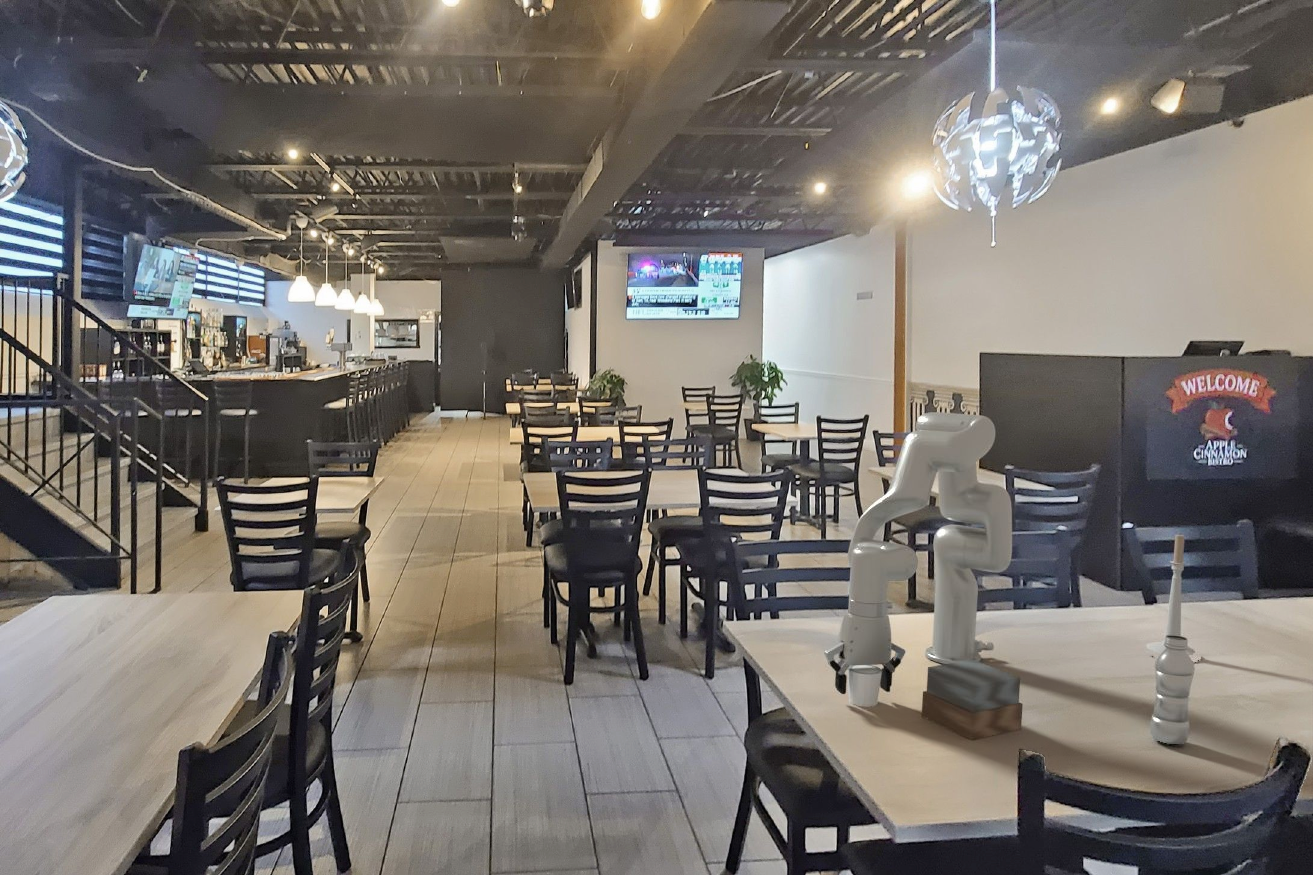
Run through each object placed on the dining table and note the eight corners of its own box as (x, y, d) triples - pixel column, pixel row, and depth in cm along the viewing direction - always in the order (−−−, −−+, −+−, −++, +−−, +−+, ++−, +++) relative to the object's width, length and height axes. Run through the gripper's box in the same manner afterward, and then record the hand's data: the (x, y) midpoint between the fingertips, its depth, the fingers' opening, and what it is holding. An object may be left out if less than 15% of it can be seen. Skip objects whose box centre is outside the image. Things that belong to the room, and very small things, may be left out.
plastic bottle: (1141, 735, 185) (1148, 632, 183) (1175, 735, 185) (1182, 632, 184) (1161, 749, 178) (1169, 642, 177) (1196, 749, 179) (1204, 642, 177)
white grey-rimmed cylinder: (880, 709, 195) (882, 675, 194) (845, 705, 196) (847, 672, 196) (880, 697, 202) (881, 664, 201) (846, 694, 203) (847, 661, 202)
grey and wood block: (970, 706, 198) (972, 658, 197) (1021, 729, 186) (1024, 678, 186) (921, 716, 192) (924, 666, 191) (971, 740, 180) (974, 687, 179)
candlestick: (1144, 658, 234) (1153, 535, 232) (1139, 644, 246) (1148, 526, 244) (1204, 665, 230) (1214, 540, 227) (1197, 651, 241) (1206, 531, 239)
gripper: (897, 602, 203) (893, 683, 204) (820, 604, 199) (816, 686, 200) (915, 612, 196) (910, 695, 197) (835, 614, 192) (830, 699, 193)
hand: (863, 690), depth 199 cm, fingers open, 9 cm apart
